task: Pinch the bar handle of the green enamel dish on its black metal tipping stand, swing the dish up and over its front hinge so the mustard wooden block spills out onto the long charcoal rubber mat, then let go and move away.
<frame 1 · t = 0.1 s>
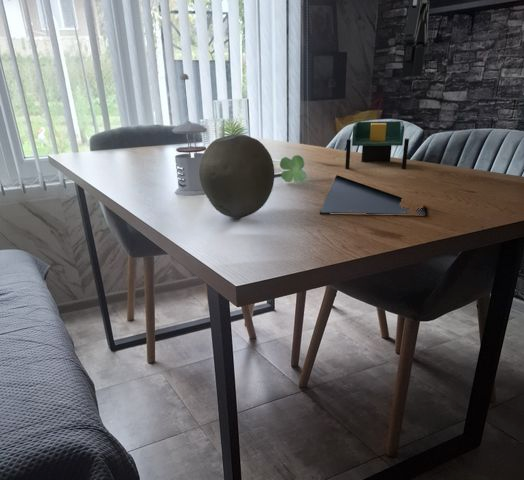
hand: (412, 76, 126), 23 cm above the table, tool pointing down, fingers open, 13 cm apart
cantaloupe: (239, 219, 94), on the table
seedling: (296, 180, 127), on the table
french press: (195, 190, 119), on the table
dish: (378, 131, 133), point 10 cm above the table, hinge at -0.1°, touching block
block: (377, 139, 131), point 8 cm above the table, touching dish
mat: (373, 193, 110), on the table
stand: (374, 175, 129), on the table
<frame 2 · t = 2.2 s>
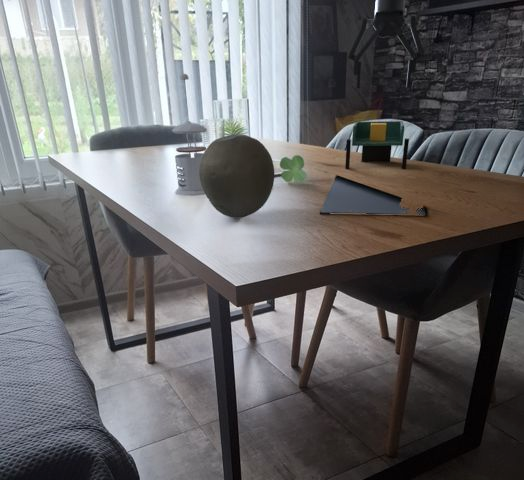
hand: (382, 87, 136), 20 cm above the table, tool pointing down, fingers open, 13 cm apart
nothing on the table moved.
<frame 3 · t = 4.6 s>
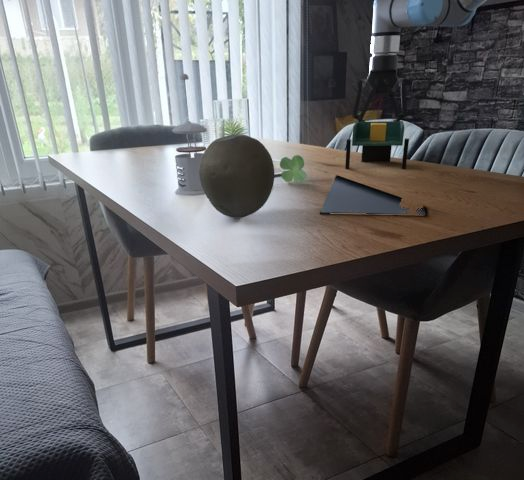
hand: (377, 144, 144), 5 cm above the table, tool pointing down, fingers closed on dish, 8 cm apart
dish: (378, 131, 133), point 10 cm above the table, hinge at -0.1°, touching block, gripper
everything else where it was.
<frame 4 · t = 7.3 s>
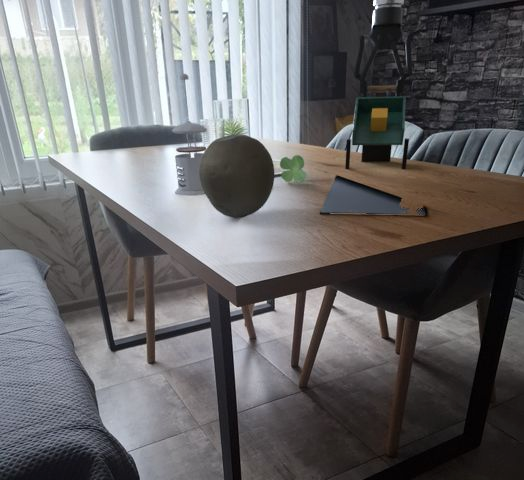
hand: (380, 106, 135), 16 cm above the table, tool pointing down, fingers closed on dish, 8 cm apart
dish: (379, 111, 129), point 15 cm above the table, hinge at 28.8°, touching block, gripper
block: (378, 126, 128), point 11 cm above the table, tilted 29°, touching dish
everything else where it was.
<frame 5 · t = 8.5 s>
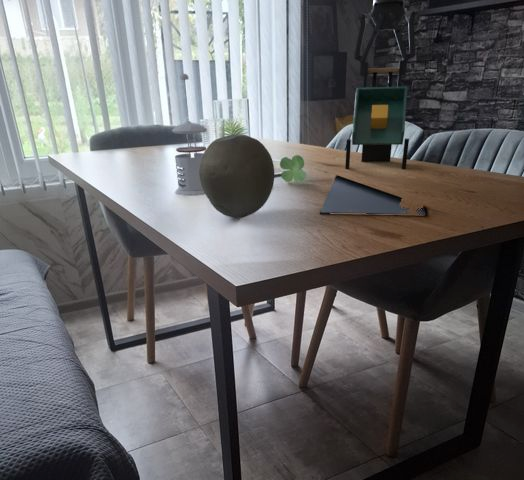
hand: (381, 89, 129), 20 cm above the table, tool pointing down, fingers closed on dish, 8 cm apart
dish: (380, 103, 126), point 17 cm above the table, hinge at 44.2°, touching gripper
block: (378, 122, 126), point 12 cm above the table, tilted 45°
everything else where it was.
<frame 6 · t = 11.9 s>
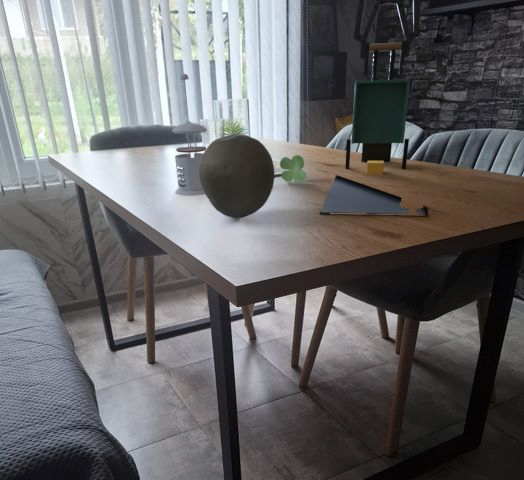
hand: (382, 74, 114), 23 cm above the table, tool pointing down, fingers open, 7 cm apart
dish: (381, 95, 119), point 19 cm above the table, hinge at 84.4°
block: (374, 171, 121), point 2 cm above the table, tilted 90°, touching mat
everything else where it was.
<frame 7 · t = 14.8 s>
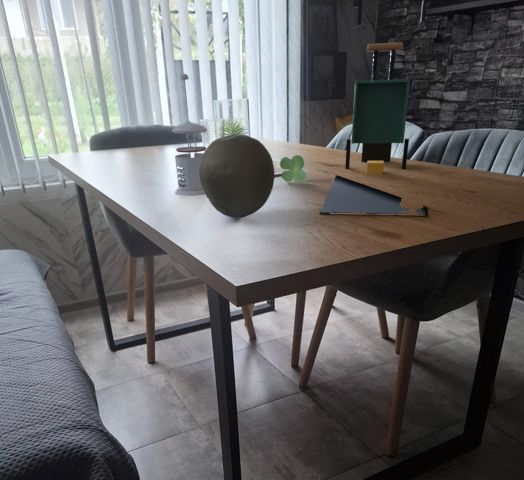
hand: (390, 24, 107), 33 cm above the table, tool pointing down, fingers open, 13 cm apart
nothing on the table moved.
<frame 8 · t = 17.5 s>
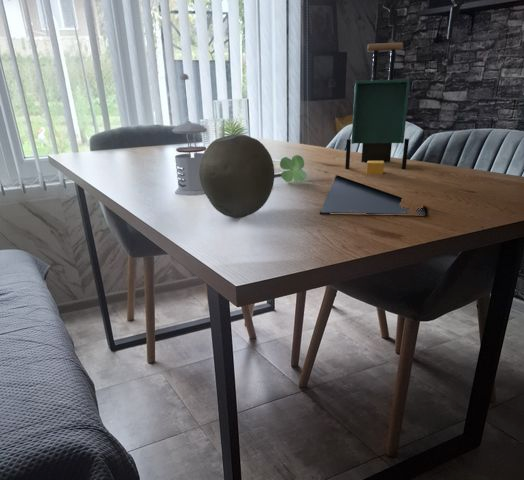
hand: (420, 40, 123), 31 cm above the table, tool pointing down, fingers open, 13 cm apart
nothing on the table moved.
at the end: dish at +84° (first picture: +0°); block touching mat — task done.
